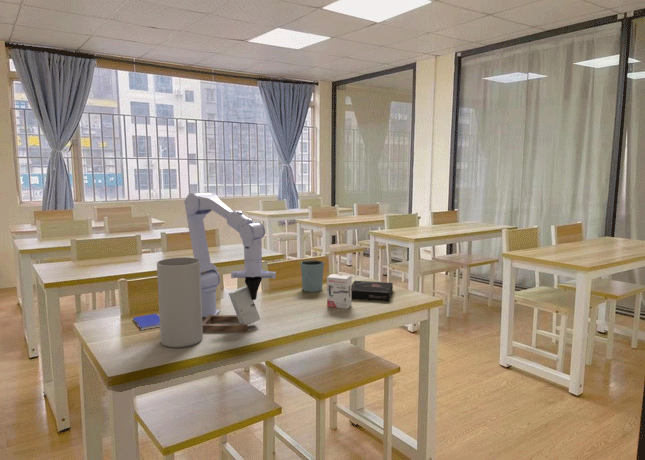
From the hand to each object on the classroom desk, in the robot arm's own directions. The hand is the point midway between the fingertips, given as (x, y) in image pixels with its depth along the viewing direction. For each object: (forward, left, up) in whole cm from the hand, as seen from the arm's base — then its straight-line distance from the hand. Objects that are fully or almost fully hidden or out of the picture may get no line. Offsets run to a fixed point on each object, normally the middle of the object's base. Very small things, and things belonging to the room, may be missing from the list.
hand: (254, 299), depth 160 cm
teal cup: (+16, +48, -10) cm, 52 cm away
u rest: (-9, 0, -9) cm, 13 cm away
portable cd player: (+41, +41, -10) cm, 59 cm away
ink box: (+28, +24, -10) cm, 38 cm away
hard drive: (-37, +2, -10) cm, 38 cm away
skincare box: (-1, 0, -8) cm, 8 cm away
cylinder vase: (-20, -14, -10) cm, 26 cm away
